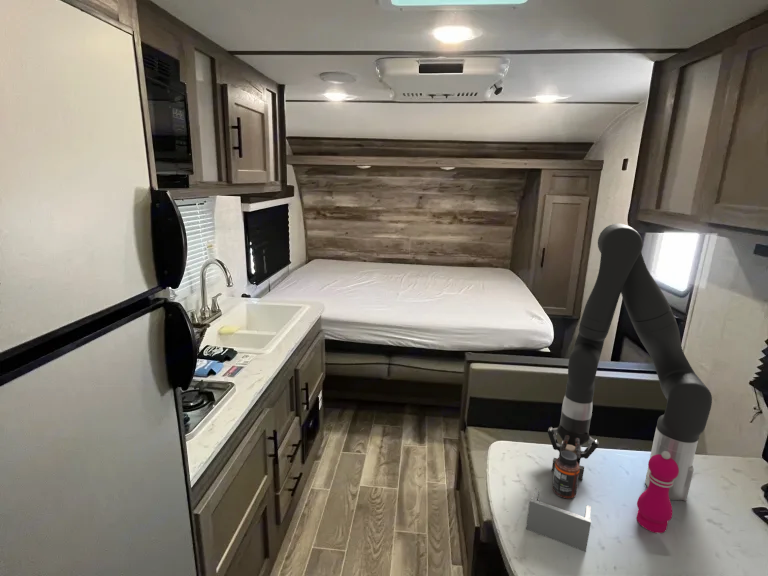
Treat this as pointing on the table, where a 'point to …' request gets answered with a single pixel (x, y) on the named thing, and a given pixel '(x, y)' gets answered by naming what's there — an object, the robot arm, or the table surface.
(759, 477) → the table surface
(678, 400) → the robot arm
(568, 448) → the scraper
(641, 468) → the table surface
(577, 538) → the grey u-shaped bracket
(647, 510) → the pepper mill
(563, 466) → the supplement bottle
